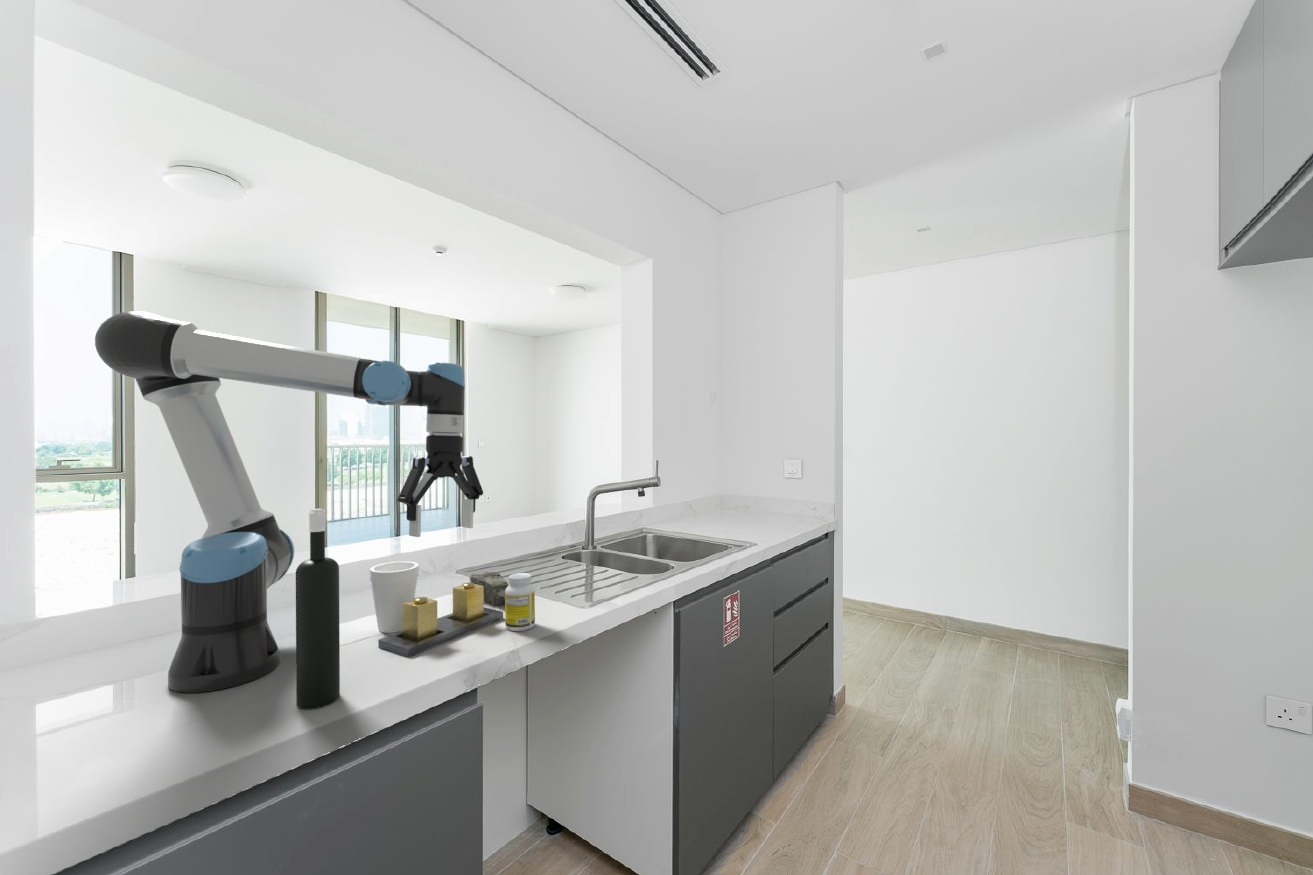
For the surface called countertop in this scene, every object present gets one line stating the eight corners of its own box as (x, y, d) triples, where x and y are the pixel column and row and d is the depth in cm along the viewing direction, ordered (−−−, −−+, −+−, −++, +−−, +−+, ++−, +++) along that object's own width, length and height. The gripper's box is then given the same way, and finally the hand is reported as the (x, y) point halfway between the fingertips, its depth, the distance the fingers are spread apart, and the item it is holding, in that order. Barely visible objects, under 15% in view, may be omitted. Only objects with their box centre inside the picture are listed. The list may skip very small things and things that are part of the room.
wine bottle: (309, 691, 88) (308, 506, 87) (346, 690, 88) (345, 506, 88) (288, 710, 82) (286, 512, 82) (327, 708, 83) (326, 511, 82)
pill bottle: (520, 619, 122) (520, 570, 121) (540, 624, 118) (540, 574, 118) (498, 628, 116) (498, 576, 116) (520, 634, 113) (520, 581, 113)
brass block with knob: (417, 647, 106) (417, 603, 106) (403, 643, 108) (403, 600, 108) (437, 639, 110) (437, 597, 110) (422, 635, 112) (422, 594, 112)
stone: (519, 614, 137) (524, 584, 133) (494, 626, 132) (498, 595, 127) (489, 581, 144) (493, 552, 140) (464, 592, 139) (467, 562, 135)
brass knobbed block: (467, 628, 116) (467, 588, 116) (452, 624, 118) (452, 585, 118) (483, 621, 120) (483, 583, 120) (469, 618, 122) (469, 580, 122)
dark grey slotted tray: (408, 656, 101) (408, 648, 101) (378, 647, 106) (378, 639, 106) (503, 618, 122) (503, 611, 122) (475, 611, 127) (475, 605, 127)
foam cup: (364, 626, 117) (363, 566, 117) (408, 616, 123) (408, 559, 123) (379, 638, 110) (379, 574, 110) (425, 627, 117) (425, 566, 117)
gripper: (403, 434, 106) (401, 542, 106) (500, 435, 128) (497, 525, 128) (380, 433, 110) (378, 537, 110) (478, 434, 131) (475, 522, 132)
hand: (442, 531), depth 119 cm, fingers open, 13 cm apart
